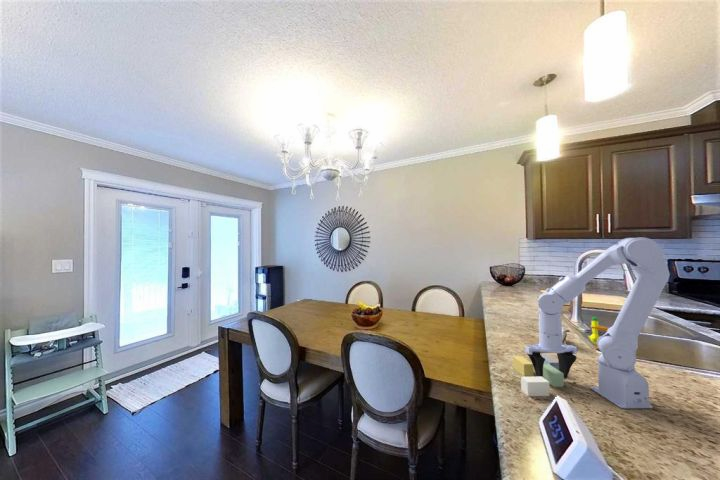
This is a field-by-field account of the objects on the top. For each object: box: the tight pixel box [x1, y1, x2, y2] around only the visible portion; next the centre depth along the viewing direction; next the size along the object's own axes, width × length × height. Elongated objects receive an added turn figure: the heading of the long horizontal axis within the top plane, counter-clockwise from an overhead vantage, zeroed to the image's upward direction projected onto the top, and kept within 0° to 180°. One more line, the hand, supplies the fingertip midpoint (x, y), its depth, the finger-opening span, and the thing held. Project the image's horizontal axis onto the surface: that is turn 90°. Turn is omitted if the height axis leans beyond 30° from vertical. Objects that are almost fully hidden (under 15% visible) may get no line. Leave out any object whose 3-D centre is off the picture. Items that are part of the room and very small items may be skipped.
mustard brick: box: [512, 355, 535, 377], centre depth 85 cm, size 6×3×4 cm, turn 179°
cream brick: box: [520, 376, 550, 397], centre depth 73 cm, size 6×3×4 cm, turn 89°
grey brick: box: [540, 353, 559, 370], centre depth 86 cm, size 6×3×4 cm, turn 179°
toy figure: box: [587, 316, 610, 349], centre depth 103 cm, size 7×4×12 cm, turn 43°
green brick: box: [543, 364, 565, 388], centre depth 79 cm, size 6×3×4 cm, turn 179°
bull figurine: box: [562, 326, 570, 345], centre depth 108 cm, size 4×13×8 cm, turn 163°
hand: (551, 376), depth 79 cm, fingers open, 7 cm apart
